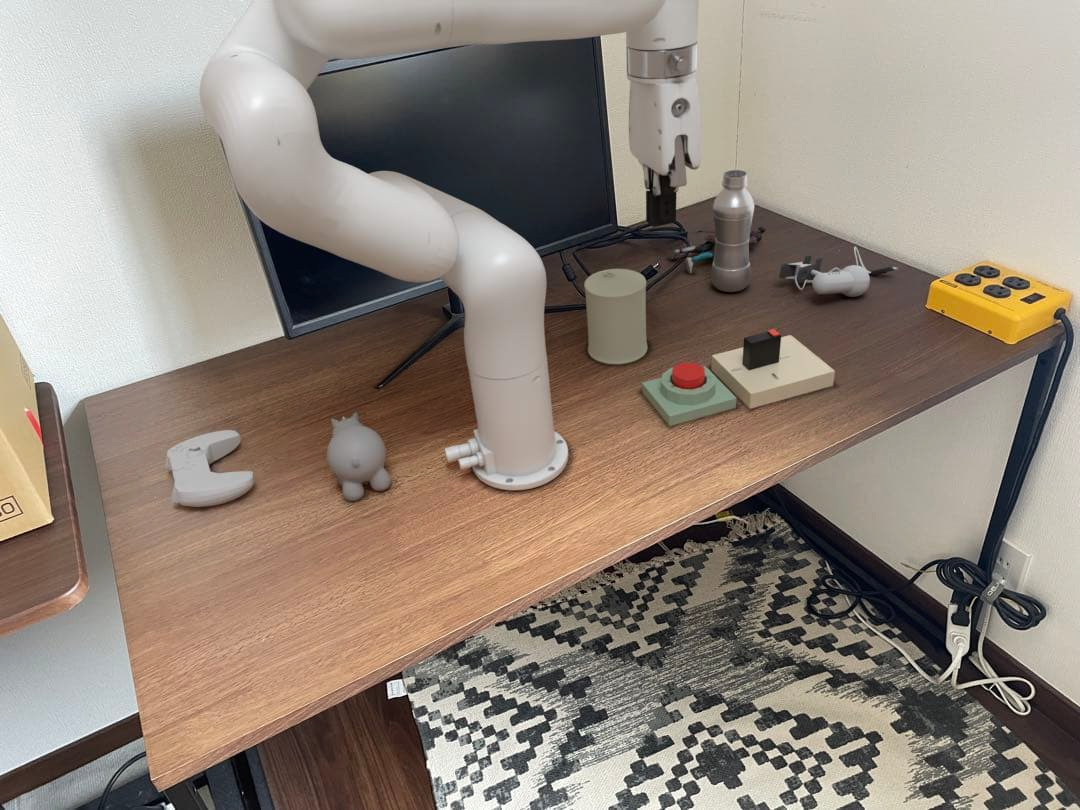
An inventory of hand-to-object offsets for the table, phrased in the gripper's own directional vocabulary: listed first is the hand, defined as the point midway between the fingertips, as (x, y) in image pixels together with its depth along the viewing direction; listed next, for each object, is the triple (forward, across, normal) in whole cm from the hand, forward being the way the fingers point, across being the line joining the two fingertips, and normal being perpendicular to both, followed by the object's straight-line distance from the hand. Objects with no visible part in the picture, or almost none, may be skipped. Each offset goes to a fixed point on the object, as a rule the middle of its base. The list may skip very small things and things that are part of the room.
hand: (661, 222), depth 97 cm
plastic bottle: (+27, +26, -25) cm, 45 cm away
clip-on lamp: (+26, +18, -41) cm, 52 cm away
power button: (+24, -1, -4) cm, 24 cm away
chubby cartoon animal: (+27, +2, +42) cm, 50 cm away
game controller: (+27, +9, +61) cm, 67 cm away
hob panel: (+26, -1, -17) cm, 31 cm away
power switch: (+27, -1, -4) cm, 27 cm away
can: (+27, +16, 0) cm, 31 cm away
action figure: (+27, +38, -30) cm, 55 cm away
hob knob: (+24, 0, -15) cm, 28 cm away
